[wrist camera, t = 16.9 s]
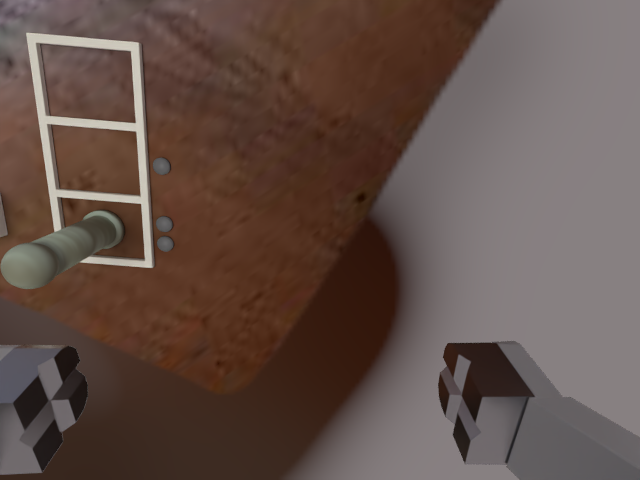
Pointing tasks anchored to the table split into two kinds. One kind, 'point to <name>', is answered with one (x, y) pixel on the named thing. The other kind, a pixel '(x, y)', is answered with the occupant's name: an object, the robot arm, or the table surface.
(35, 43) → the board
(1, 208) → the die
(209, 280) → the table surface
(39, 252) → the pawn
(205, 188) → the table surface
